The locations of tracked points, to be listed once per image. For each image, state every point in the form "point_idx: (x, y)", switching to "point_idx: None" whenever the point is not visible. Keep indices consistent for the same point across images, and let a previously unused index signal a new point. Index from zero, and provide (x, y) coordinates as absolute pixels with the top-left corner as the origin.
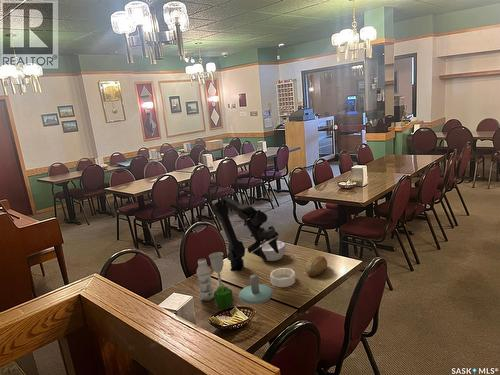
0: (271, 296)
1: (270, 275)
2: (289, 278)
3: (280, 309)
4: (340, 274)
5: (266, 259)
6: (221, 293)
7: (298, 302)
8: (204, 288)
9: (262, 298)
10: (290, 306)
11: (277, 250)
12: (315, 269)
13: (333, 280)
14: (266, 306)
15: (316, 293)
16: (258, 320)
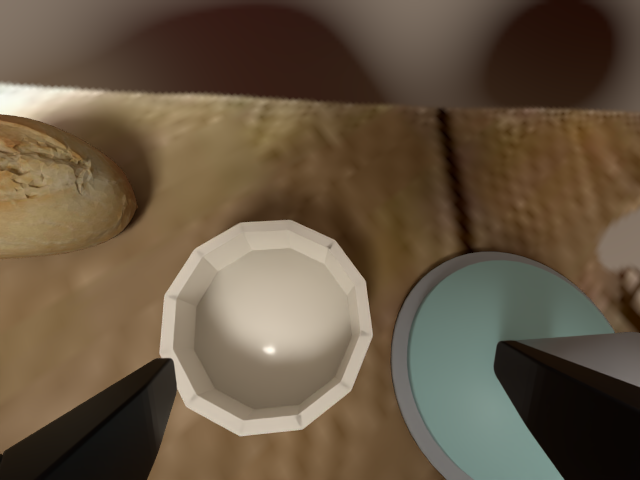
0: (463, 259)
1: (348, 386)
2: (299, 225)
3: (501, 159)
4: (48, 96)
5: (527, 345)
6: None
7: (402, 127)
8: None
9: (536, 271)
10: (451, 138)
11: (151, 379)
12: (94, 152)
13: (129, 96)
14: (536, 228)
15: (288, 103)
16: (630, 186)
